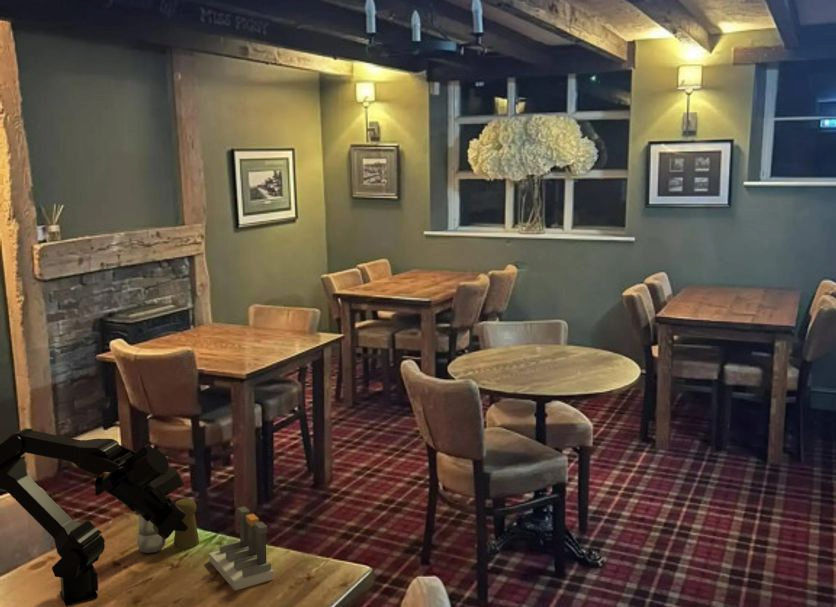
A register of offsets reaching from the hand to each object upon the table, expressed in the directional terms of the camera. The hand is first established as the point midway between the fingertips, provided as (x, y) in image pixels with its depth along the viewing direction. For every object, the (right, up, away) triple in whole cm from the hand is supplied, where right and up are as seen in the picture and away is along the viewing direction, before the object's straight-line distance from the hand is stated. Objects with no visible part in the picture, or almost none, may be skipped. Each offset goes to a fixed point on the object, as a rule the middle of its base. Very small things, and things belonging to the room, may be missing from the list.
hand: (186, 529), depth 174 cm
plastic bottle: (-13, -10, +18) cm, 24 cm away
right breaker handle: (+15, -10, +5) cm, 19 cm away
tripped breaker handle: (+13, -9, +9) cm, 18 cm away
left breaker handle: (+10, -8, +14) cm, 19 cm away
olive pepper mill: (-6, -10, +21) cm, 24 cm away
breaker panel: (+10, -12, +8) cm, 17 cm away
